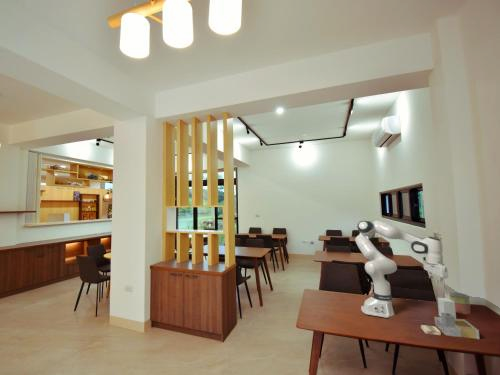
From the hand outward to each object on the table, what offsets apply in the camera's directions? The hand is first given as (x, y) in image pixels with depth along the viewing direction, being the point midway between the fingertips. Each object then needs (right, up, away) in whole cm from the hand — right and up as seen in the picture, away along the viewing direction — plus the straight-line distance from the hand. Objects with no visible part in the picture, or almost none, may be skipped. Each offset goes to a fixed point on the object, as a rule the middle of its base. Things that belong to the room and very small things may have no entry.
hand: (435, 280), depth 165 cm
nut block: (-3, -22, -14) cm, 26 cm away
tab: (-15, -27, -15) cm, 34 cm away
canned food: (+29, -29, +12) cm, 42 cm away
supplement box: (+11, -28, +3) cm, 30 cm away
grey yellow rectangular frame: (+1, -26, -15) cm, 30 cm away
